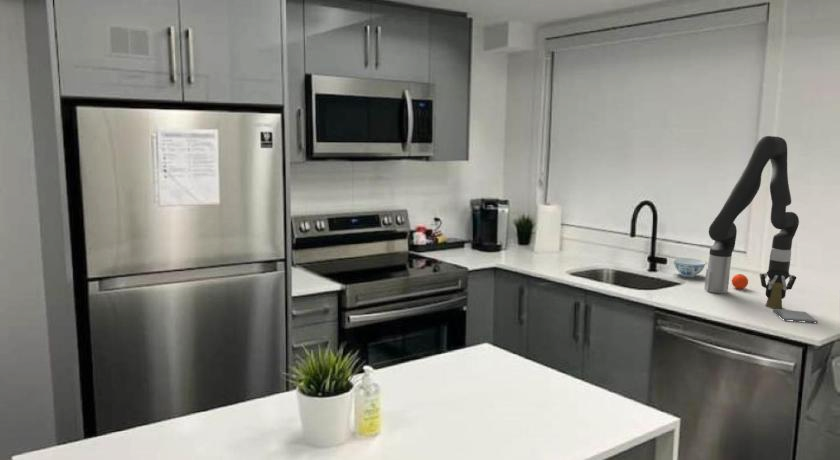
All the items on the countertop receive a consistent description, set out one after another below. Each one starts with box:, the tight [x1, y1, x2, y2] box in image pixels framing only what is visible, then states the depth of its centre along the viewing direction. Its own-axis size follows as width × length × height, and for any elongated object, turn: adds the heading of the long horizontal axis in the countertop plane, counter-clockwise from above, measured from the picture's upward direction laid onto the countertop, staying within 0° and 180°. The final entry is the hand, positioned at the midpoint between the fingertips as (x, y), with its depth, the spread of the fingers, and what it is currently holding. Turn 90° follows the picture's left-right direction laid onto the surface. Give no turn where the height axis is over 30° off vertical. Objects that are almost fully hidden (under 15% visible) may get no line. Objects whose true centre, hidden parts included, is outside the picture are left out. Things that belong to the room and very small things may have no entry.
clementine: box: [731, 273, 749, 290], centre depth 286 cm, size 8×7×7 cm
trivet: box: [772, 309, 818, 324], centre depth 244 cm, size 12×12×1 cm
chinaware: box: [672, 257, 707, 278], centre depth 308 cm, size 15×15×8 cm
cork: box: [765, 282, 784, 310], centre depth 257 cm, size 6×6×11 cm
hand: (775, 297), depth 258 cm, fingers closed on cork, 4 cm apart
